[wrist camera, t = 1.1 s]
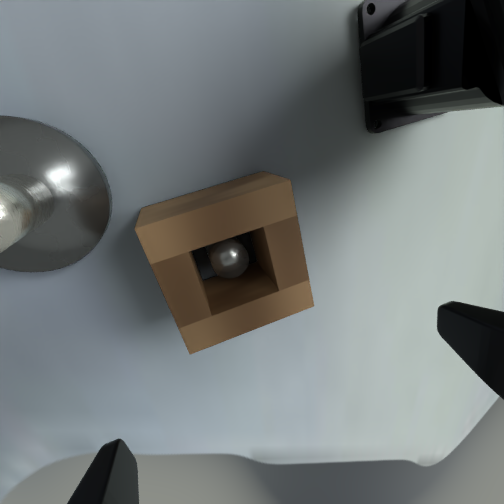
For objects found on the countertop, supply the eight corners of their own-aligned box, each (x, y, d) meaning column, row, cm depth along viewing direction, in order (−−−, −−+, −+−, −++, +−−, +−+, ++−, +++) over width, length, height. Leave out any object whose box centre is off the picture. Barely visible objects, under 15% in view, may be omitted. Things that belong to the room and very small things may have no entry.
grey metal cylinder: (233, 225, 17) (243, 237, 15) (242, 254, 18) (253, 271, 16) (200, 235, 17) (206, 250, 15) (211, 265, 18) (217, 283, 16)
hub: (71, 99, 13) (23, 79, 9) (134, 239, 16) (122, 278, 12) (-103, 141, 12) (-260, 142, 8) (-3, 282, 15) (-74, 344, 11)
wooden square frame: (263, 170, 17) (290, 179, 13) (286, 275, 20) (314, 306, 16) (141, 208, 16) (134, 228, 12) (185, 312, 18) (189, 354, 15)
